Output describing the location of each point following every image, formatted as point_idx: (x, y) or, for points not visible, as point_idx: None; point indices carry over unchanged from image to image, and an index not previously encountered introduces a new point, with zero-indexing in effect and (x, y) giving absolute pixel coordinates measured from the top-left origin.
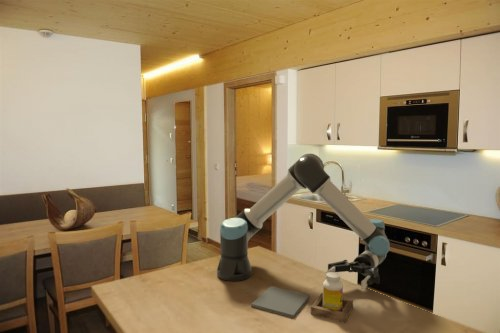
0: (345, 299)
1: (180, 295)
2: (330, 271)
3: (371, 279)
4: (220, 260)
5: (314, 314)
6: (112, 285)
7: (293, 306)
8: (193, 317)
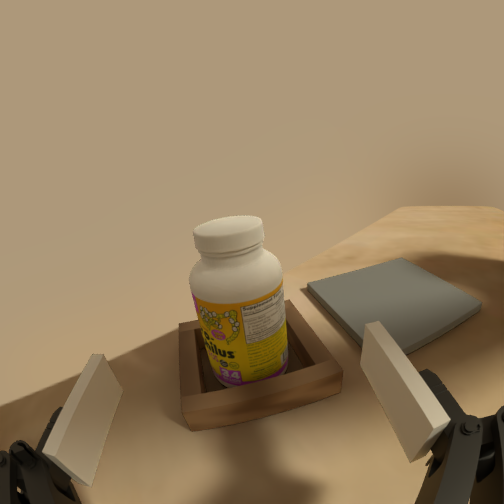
0: (216, 398)
1: (466, 229)
2: (384, 361)
3: (45, 436)
4: None
5: None
6: (495, 210)
7: (342, 297)
8: (399, 226)
